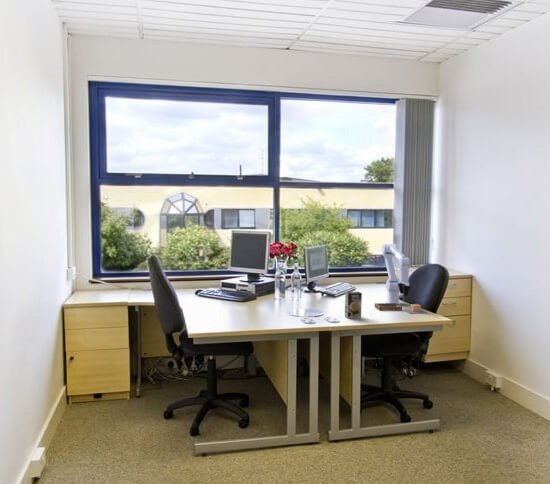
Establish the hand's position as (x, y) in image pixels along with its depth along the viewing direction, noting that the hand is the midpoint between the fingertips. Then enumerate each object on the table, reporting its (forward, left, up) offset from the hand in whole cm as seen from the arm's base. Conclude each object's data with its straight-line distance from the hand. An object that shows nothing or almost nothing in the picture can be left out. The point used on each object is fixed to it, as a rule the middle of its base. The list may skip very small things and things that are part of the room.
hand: (403, 294), depth 337 cm
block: (+11, +4, -9) cm, 15 cm away
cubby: (+1, -11, -9) cm, 15 cm away
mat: (+11, +4, -9) cm, 15 cm away
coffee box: (+25, -42, -10) cm, 50 cm away
